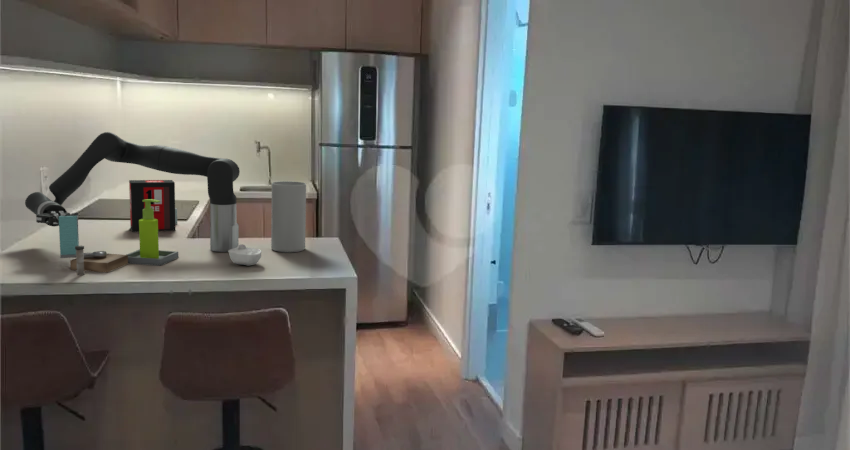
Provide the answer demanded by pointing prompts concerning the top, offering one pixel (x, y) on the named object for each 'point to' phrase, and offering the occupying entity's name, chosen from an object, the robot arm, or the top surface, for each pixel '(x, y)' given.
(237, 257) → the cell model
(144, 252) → the soap dispenser
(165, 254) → the tray
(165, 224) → the cleaning product box
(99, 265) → the crank base
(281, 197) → the cylinder vase
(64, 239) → the teal upright panel
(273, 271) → the top surface
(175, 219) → the right angle wall
